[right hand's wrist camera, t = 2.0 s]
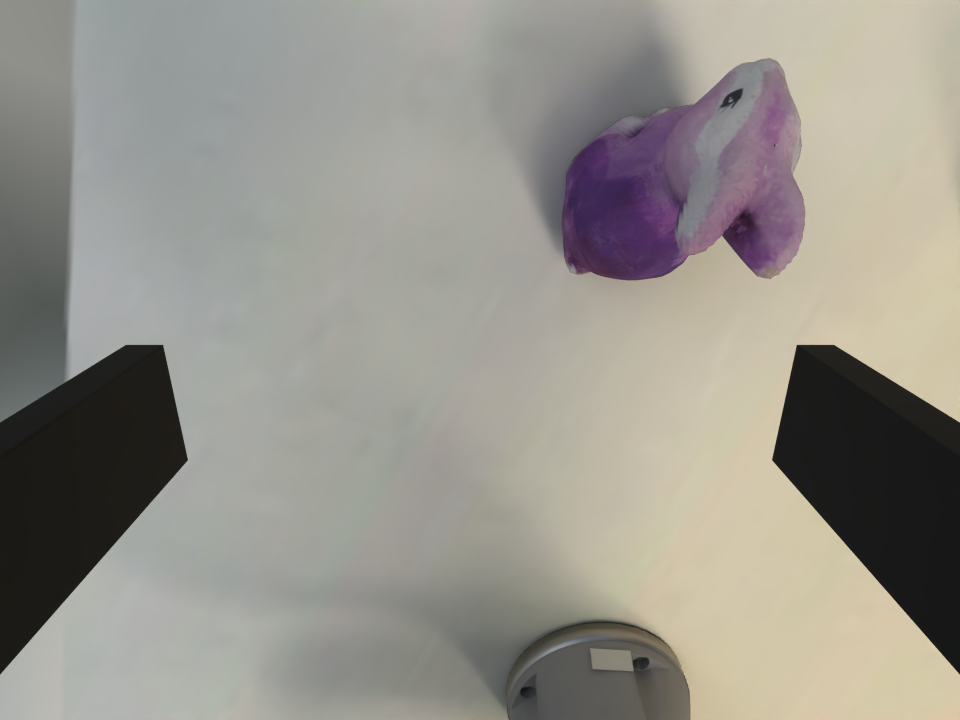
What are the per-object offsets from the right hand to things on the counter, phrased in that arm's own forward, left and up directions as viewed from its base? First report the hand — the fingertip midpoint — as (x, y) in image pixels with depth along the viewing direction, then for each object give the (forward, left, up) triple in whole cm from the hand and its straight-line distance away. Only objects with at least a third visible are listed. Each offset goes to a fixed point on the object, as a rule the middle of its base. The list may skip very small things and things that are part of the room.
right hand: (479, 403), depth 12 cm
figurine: (-1, -9, -25) cm, 27 cm away
